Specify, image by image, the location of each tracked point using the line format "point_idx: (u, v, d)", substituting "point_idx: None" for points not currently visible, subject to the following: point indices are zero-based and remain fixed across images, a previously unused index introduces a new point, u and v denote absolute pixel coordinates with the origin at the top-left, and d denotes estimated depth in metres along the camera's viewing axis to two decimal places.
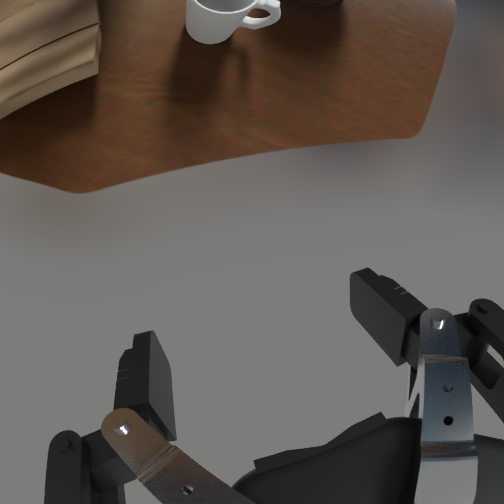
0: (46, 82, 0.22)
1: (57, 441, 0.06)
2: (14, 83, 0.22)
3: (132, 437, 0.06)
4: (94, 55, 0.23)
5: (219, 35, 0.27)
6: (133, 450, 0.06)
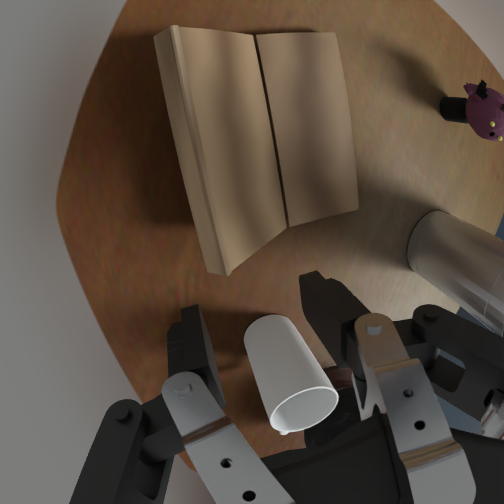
0: (205, 204, 0.20)
1: (117, 409, 0.07)
2: (221, 124, 0.20)
3: (190, 402, 0.07)
4: None
5: None
6: (201, 409, 0.07)
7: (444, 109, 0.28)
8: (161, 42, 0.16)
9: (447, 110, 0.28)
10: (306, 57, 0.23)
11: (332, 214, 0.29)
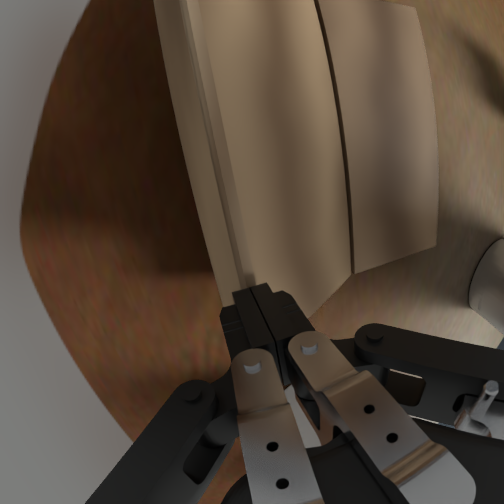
0: (235, 262, 0.12)
1: (188, 389, 0.07)
2: (265, 121, 0.12)
3: (256, 379, 0.07)
4: None
5: None
6: (277, 382, 0.07)
7: None
8: None
9: None
10: (384, 34, 0.14)
11: (407, 254, 0.20)
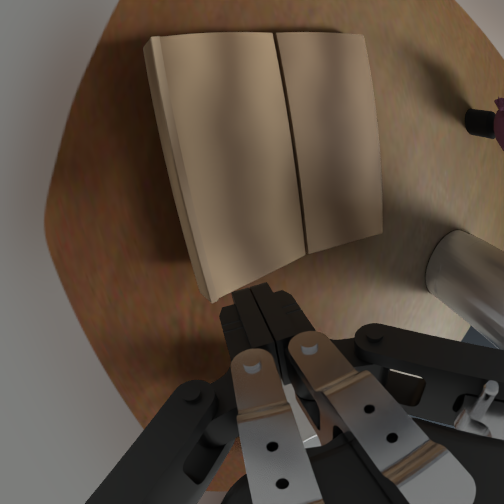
0: (190, 229, 0.19)
1: (188, 389, 0.07)
2: (216, 142, 0.18)
3: (256, 379, 0.07)
4: None
5: None
6: (277, 382, 0.07)
7: (470, 122, 0.25)
8: (147, 55, 0.15)
9: (473, 124, 0.25)
10: (332, 61, 0.19)
11: (354, 239, 0.26)
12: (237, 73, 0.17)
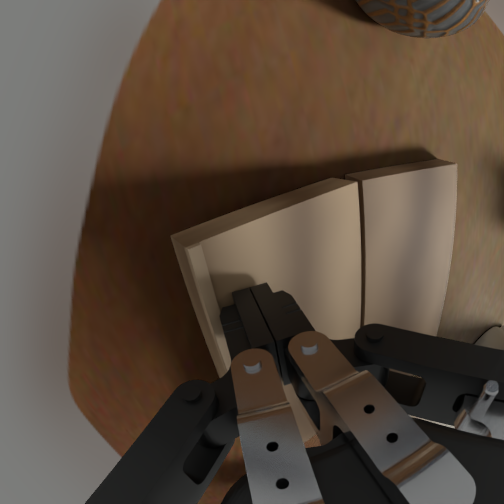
0: None
1: (188, 388, 0.07)
2: None
3: (257, 379, 0.07)
4: None
5: None
6: (277, 382, 0.07)
7: None
8: (181, 258, 0.12)
9: None
10: (420, 212, 0.16)
11: None
12: (312, 265, 0.14)
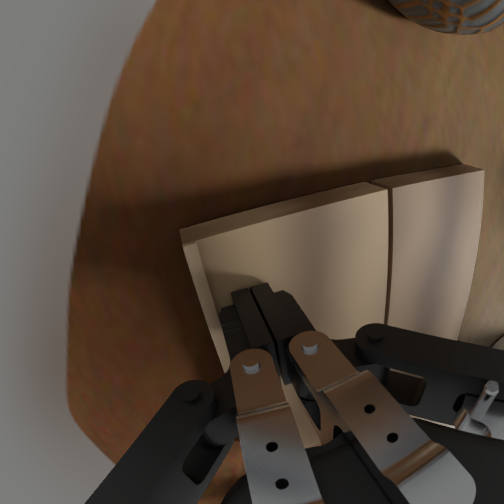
0: None
1: (187, 389, 0.07)
2: None
3: (255, 380, 0.07)
4: None
5: None
6: (276, 382, 0.07)
7: None
8: None
9: None
10: (448, 222, 0.14)
11: None
12: (325, 275, 0.13)
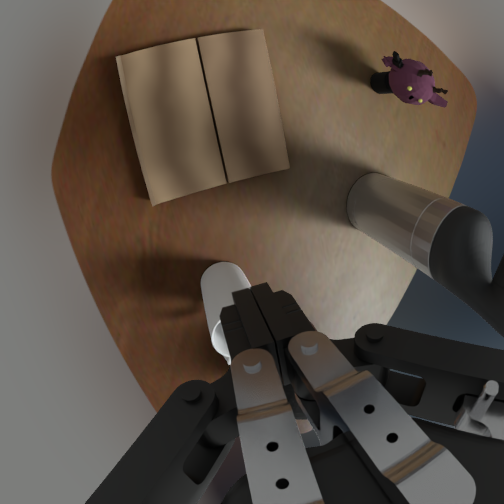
0: (139, 159, 0.31)
1: (188, 389, 0.07)
2: (154, 110, 0.29)
3: (256, 379, 0.07)
4: None
5: None
6: (277, 382, 0.07)
7: (374, 83, 0.35)
8: None
9: (376, 84, 0.35)
10: (237, 51, 0.29)
11: (265, 172, 0.36)
12: (168, 68, 0.28)
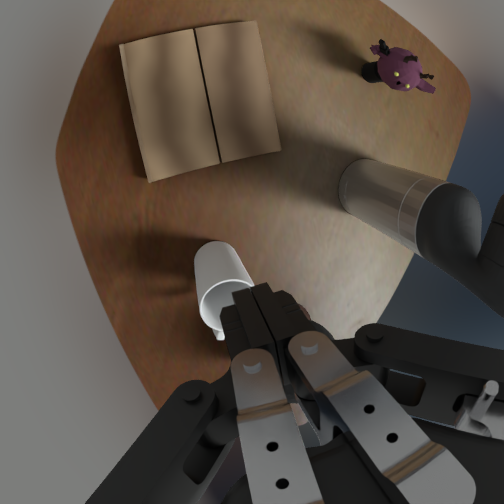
0: (138, 139, 0.32)
1: (188, 389, 0.07)
2: (153, 93, 0.31)
3: (257, 379, 0.07)
4: (160, 178, 0.35)
5: None
6: (276, 382, 0.07)
7: (364, 72, 0.36)
8: None
9: (367, 73, 0.36)
10: (232, 40, 0.30)
11: (257, 153, 0.37)
12: (167, 56, 0.29)
